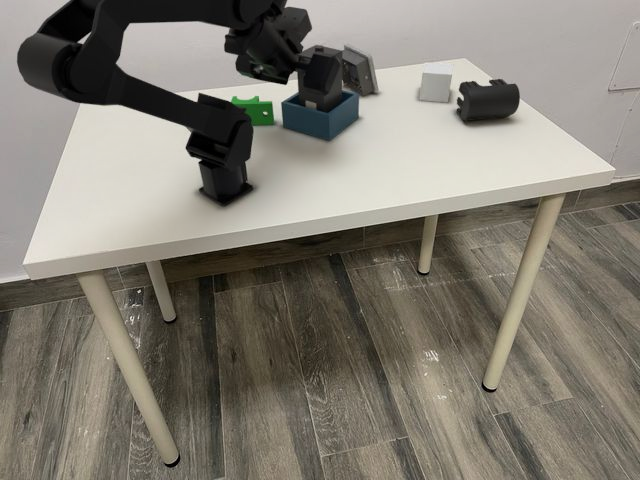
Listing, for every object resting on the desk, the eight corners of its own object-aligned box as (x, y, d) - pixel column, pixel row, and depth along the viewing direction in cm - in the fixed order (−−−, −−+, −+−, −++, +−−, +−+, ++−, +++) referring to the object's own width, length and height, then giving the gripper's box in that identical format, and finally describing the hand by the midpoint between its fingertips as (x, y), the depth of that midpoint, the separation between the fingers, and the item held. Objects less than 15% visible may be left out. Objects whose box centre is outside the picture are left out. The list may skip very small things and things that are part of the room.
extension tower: (324, 131, 91) (322, 55, 82) (299, 123, 94) (295, 48, 84) (342, 119, 95) (342, 44, 85) (318, 112, 98) (315, 39, 88)
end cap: (465, 127, 92) (472, 94, 88) (453, 111, 98) (458, 79, 93) (514, 123, 93) (523, 89, 89) (499, 107, 98) (507, 75, 94)
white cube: (447, 102, 101) (452, 74, 97) (419, 100, 102) (422, 72, 98) (449, 91, 105) (453, 64, 101) (421, 89, 107) (425, 62, 103)
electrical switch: (379, 93, 105) (378, 52, 99) (360, 101, 103) (358, 59, 97) (354, 80, 111) (352, 40, 105) (336, 87, 110) (333, 47, 103)
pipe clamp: (275, 116, 98) (273, 95, 95) (273, 125, 95) (272, 103, 92) (221, 117, 98) (218, 95, 95) (218, 125, 95) (214, 103, 92)
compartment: (329, 140, 90) (329, 115, 86) (282, 126, 94) (280, 102, 91) (358, 117, 96) (359, 93, 93) (313, 105, 101) (312, 82, 98)
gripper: (334, 0, 69) (368, 55, 83) (236, -14, 77) (282, 38, 91) (305, 72, 69) (344, 114, 83) (211, 50, 77) (261, 92, 91)
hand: (307, 87), depth 87 cm, fingers open, 9 cm apart
